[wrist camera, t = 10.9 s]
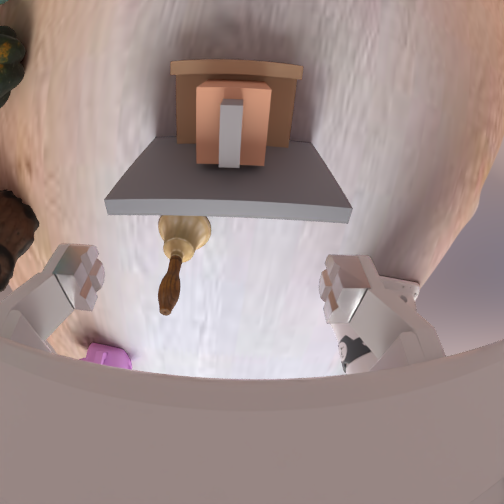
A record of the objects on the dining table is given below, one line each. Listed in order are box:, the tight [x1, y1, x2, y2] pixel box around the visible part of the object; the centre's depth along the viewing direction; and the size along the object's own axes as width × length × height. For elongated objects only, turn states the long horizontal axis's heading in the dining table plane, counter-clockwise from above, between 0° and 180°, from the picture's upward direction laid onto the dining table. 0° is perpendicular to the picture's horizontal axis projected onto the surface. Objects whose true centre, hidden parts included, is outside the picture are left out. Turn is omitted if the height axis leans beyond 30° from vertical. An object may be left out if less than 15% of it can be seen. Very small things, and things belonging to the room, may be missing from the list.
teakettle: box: [79, 343, 132, 370], centre depth 66 cm, size 17×17×12 cm
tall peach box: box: [196, 79, 272, 168], centre depth 23 cm, size 6×7×11 cm
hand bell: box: [158, 215, 211, 315], centre depth 36 cm, size 8×8×16 cm
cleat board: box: [104, 59, 353, 224], centre depth 25 cm, size 20×16×16 cm
